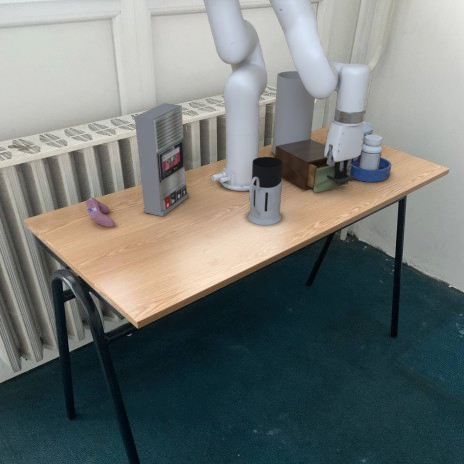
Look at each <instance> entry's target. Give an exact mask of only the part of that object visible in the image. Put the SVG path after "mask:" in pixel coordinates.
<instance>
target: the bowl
mask: <svg viewBox="0 0 464 464" xmlns="http://www.w3.org/2000/svg"><path fill="white" fill-rule="evenodd" d="M359 160H360V155H359V156H358V159H357V160H355V161H353V162H352V166H351V172H350V176H355V180H357V181H359V182H366V183H377V182H382V181H386V180H387V179H389V177H390V174H391V171H392V165H393V164H392V162H391V161H390V160H389V159H387V158H384V157H382V156H381V157H380V162H379V168H378V170H368V169H362V168H358V166H359Z"/></svg>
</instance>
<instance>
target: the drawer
mask: <svg viewBox="0 0 464 464" xmlns="http://www.w3.org/2000/svg"><path fill="white" fill-rule="evenodd" d="M326 163H327V160H325V161H320V162H316V163H312V164H309V168H308V178H307V185H308V186H309V187H311V188H312V189H313V192H314V193H320V192H325V191H328V190H331V189H335V188H336V189H337V188H339V187H343V186H348V185H349V183H350V182H352V181H355V180H356V179H355V176H350V172H351V166H352V163H351V165H350V168H349V169H348V170H347V176H346V177H345V178H341V179H335V178H334V175H335V168H334V167H333V166H329V165H327V164H326ZM338 163H339V162H338ZM334 181H335V182H334ZM342 183H345V184H342ZM340 184H341V185H340Z"/></svg>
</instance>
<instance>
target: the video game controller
mask: <svg viewBox="0 0 464 464" xmlns="http://www.w3.org/2000/svg"><path fill="white" fill-rule="evenodd" d="M84 203H85V205H86V206H85V209H86V210H87V213H88V214H89V216H90V218H91V219H92V220H93V221H94V222H95V224H98V225H101V226H103V227H106V228H112V227H114V226H115V221H114V219H112V218H111V217H109V216H108V215H105V214H108V213H109V212H110V208H109V207H108V205H107V204H105V203H103V202H100V201H99V200H97V199H96V198H94V197H91V198H87V200H85V202H84Z"/></svg>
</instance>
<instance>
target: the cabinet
mask: <svg viewBox="0 0 464 464" xmlns="http://www.w3.org/2000/svg"><path fill="white" fill-rule="evenodd" d="M325 145H326V144H323V143H320V142H319V141H316V140H314V139H312V138H311V139H308V140H303V141H298V142H293V143H288V144H283V145H278V146H276V149H275V155H274V158H278V159H280V160H281V161H282V162H283V167H282V179H283V180H285V181H287V182H289V183H290V184H292V185H294V186H296V187H297V188H299V189H301V190H302V191H307V190H311V189H313V188H311V187H309V186H308V185H307V178H308V168H309V164H312V163H316V162H320V161H325V160H328V158H326V157H325V156H324V152H325Z"/></svg>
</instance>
